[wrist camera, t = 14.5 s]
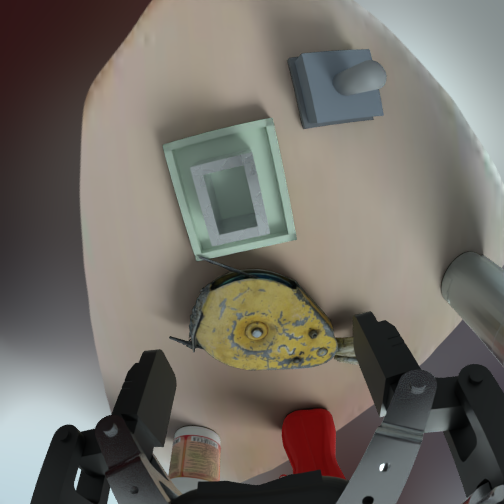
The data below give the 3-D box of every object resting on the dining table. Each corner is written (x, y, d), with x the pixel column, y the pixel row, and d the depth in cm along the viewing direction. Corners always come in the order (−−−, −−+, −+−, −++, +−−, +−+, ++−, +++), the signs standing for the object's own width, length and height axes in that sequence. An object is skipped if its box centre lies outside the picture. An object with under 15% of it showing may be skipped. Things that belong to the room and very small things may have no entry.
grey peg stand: (355, 54, 27) (403, 29, 16) (369, 119, 30) (423, 121, 20) (287, 60, 27) (310, 29, 17) (302, 128, 31) (334, 130, 20)
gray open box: (250, 148, 31) (252, 152, 26) (266, 218, 34) (270, 233, 29) (197, 161, 31) (189, 167, 26) (215, 229, 34) (212, 246, 30)
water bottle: (274, 408, 48) (289, 536, 25) (333, 403, 49) (365, 523, 26) (270, 433, 52) (281, 545, 29) (323, 429, 52) (347, 535, 30)
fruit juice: (213, 423, 50) (207, 558, 24) (226, 445, 54) (225, 563, 28) (167, 425, 50) (148, 552, 25) (184, 447, 54) (173, 560, 28)
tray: (270, 118, 30) (272, 117, 28) (294, 234, 35) (296, 239, 34) (166, 143, 31) (162, 145, 29) (198, 255, 36) (196, 261, 34)
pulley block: (361, 403, 40) (163, 357, 34) (349, 380, 45) (170, 332, 40) (413, 330, 36) (198, 256, 31) (394, 311, 42) (203, 240, 36)
